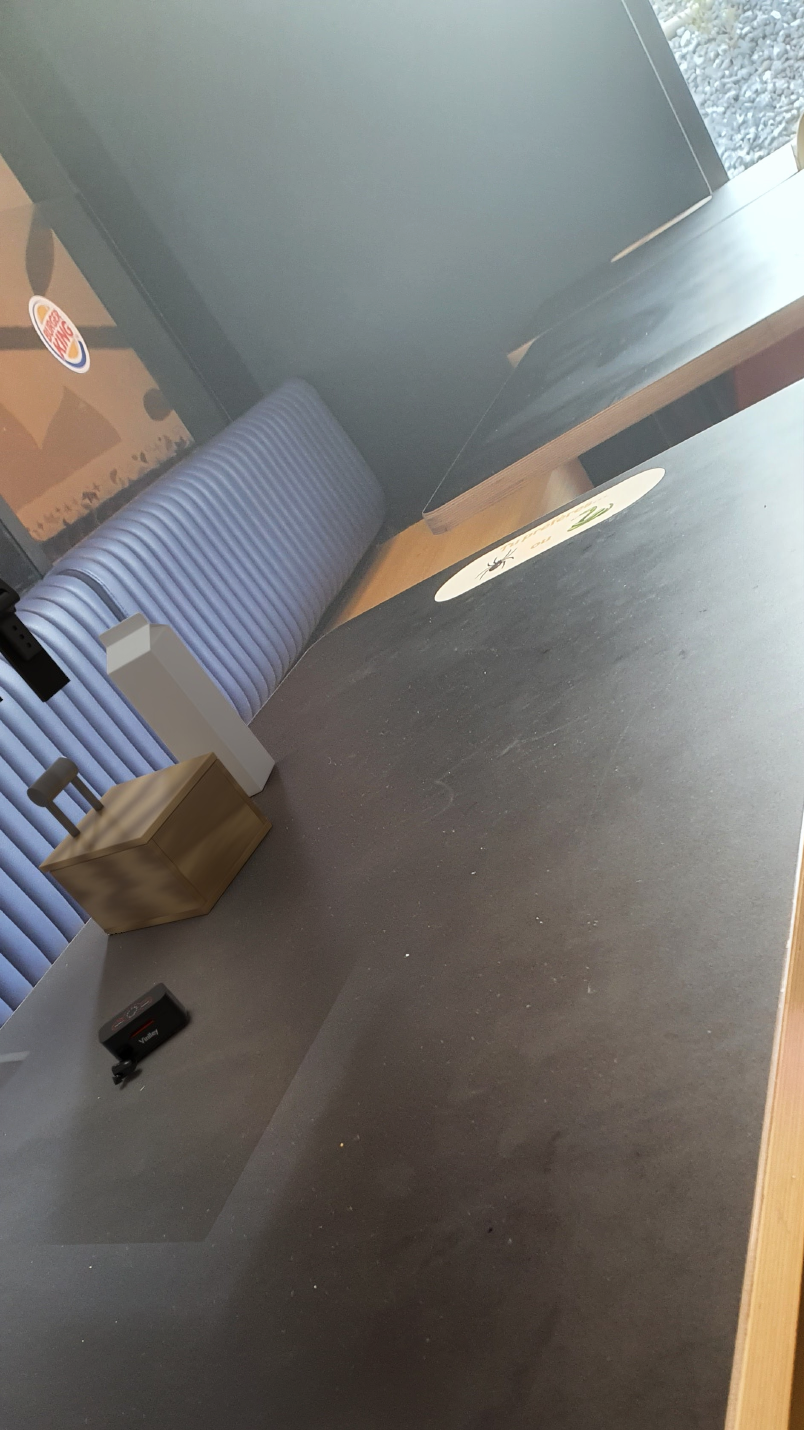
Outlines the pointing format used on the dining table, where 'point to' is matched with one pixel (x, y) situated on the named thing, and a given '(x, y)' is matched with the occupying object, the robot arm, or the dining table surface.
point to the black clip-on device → (141, 1028)
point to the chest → (173, 860)
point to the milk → (182, 700)
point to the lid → (114, 808)
